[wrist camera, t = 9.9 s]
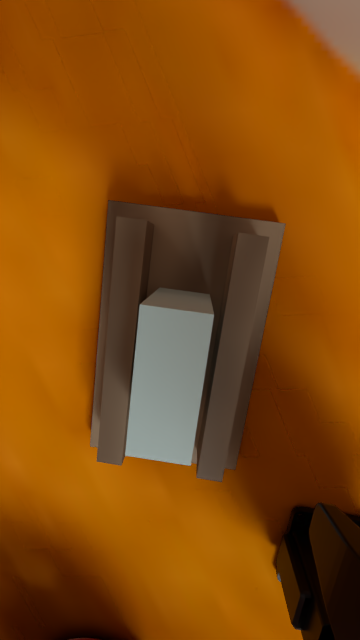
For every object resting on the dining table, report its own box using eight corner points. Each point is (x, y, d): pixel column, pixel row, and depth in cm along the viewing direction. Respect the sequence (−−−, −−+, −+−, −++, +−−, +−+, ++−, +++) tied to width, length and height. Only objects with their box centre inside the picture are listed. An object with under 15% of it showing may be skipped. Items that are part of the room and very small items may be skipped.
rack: (280, 225, 18) (300, 218, 14) (233, 459, 21) (240, 499, 18) (113, 203, 18) (93, 191, 15) (95, 437, 22) (75, 472, 18)
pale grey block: (209, 294, 18) (214, 314, 12) (193, 401, 19) (190, 465, 13) (159, 287, 18) (139, 304, 12) (147, 394, 19) (125, 455, 14)
